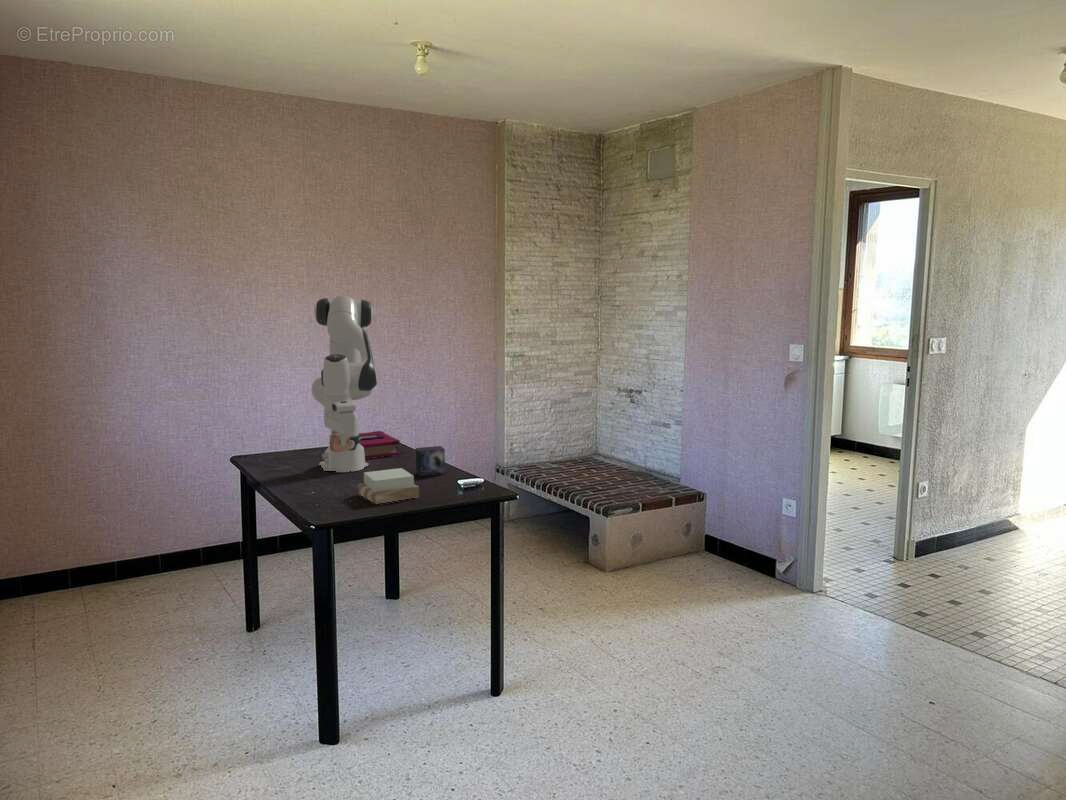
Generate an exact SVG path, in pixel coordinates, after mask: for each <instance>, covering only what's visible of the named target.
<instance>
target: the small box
mask: <svg viewBox="0 0 1066 800" xmlns="http://www.w3.org/2000/svg"><path fill="white" fill-rule="evenodd" d="M445 451H446V449H445V448H444V447H443V446H441V445H434V446H424V447H415V474H416V473H417V474H416V475H417V476H418V475H419V476H418V477H427V476H426V475H431V476H433V475H432V474H441V473H445V474H446V461H445V459H446V456H445V454H446V453H445Z"/></svg>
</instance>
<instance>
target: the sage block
mask: <svg viewBox="0 0 1066 800" xmlns="http://www.w3.org/2000/svg"><path fill="white" fill-rule="evenodd" d="M363 483H364V484H366V485H367V486H368V487H369V488H370V489H372V490H373V491H374V492H381V491H388V490H396V489H404V488H412V487H414V485H415V476H414V475H413V474H411V473H410V472H408V471H407V470H405V469H404V468H402V467H399V468H391V469H389V468H388V469H382V470H373V471H366V472H363Z"/></svg>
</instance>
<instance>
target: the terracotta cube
mask: <svg viewBox="0 0 1066 800" xmlns="http://www.w3.org/2000/svg"><path fill="white" fill-rule="evenodd" d="M340 437H341V436H340V434H337V435H331V434H330V435H329V439H330V440H329V442H330V443H329V445H330V450H332V451H334V452H342V451H349V450H350V446H349V436H348V435H347V439H346V445H345V446H341V445H340V441H339V440H340Z"/></svg>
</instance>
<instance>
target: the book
mask: <svg viewBox="0 0 1066 800" xmlns="http://www.w3.org/2000/svg"><path fill="white" fill-rule="evenodd" d="M359 434H360V445H361V446H363V448H364V455H365V458H372V457H381V456H390V457H393V456H392V455H399V456H401V452H400V451H398V450H396V445H400V439H397V438H395V437H394V436H391V435H390V434H387V433H385V432H384V431H381V430H378V431H377V430H375V431H370V432H360V433H359ZM381 458H382V457H381Z"/></svg>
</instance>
